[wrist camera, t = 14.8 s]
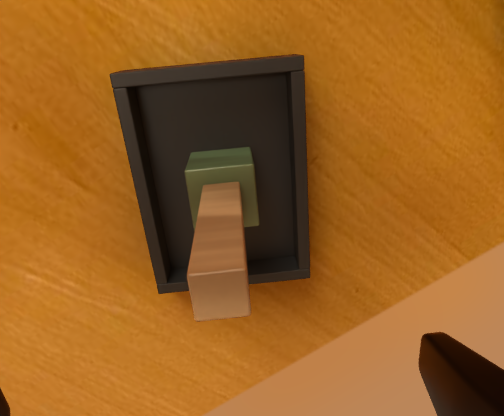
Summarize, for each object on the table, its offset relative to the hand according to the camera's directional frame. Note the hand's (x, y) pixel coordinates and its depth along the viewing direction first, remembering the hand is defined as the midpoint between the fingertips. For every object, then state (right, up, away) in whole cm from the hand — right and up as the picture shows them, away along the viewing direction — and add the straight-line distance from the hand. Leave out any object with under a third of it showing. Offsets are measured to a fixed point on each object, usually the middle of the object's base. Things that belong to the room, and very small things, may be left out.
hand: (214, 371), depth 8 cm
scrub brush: (-1, +5, +11) cm, 13 cm away
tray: (-1, +5, +12) cm, 13 cm away
